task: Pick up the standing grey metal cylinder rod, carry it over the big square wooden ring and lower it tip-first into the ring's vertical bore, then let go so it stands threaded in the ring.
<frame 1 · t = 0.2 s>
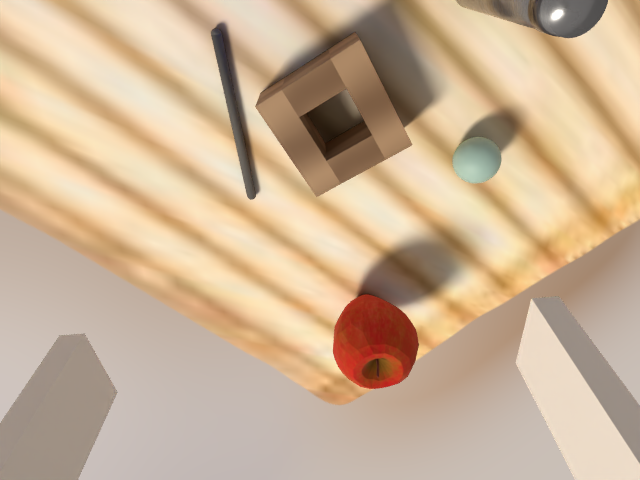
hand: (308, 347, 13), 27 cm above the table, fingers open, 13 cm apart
loose teal bead: (469, 151, 38), on the table
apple: (367, 299, 48), on the table
thin dark grey rod: (236, 121, 37), on the table
square wooden ring: (333, 111, 36), on the table
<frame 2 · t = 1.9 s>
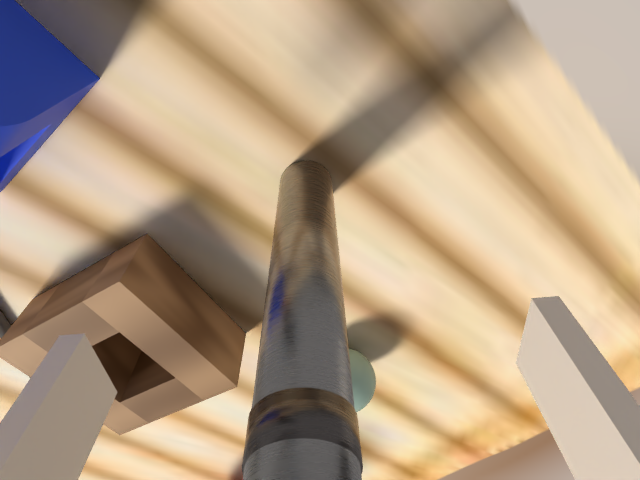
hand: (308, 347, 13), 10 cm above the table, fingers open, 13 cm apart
loose teal bead: (342, 355, 28), on the table
grey metal cylinder rod: (306, 184, 21), on the table
thin dark grey rod: (10, 328, 26), on the table
square wooden ring: (143, 317, 26), on the table
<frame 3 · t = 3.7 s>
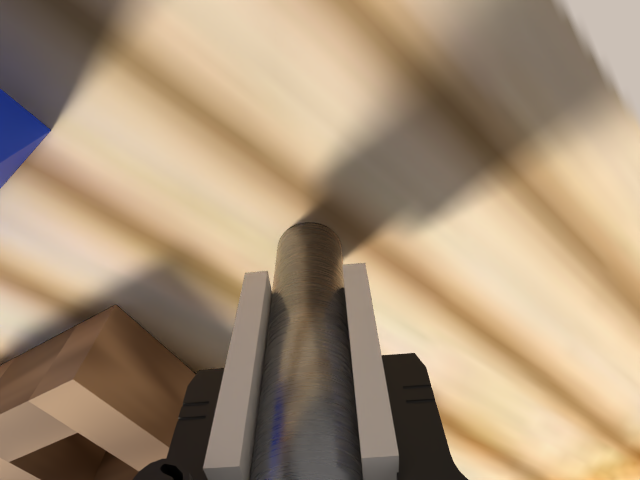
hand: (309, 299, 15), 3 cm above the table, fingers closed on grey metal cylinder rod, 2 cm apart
grey metal cylinder rod: (309, 250, 17), on the table, touching gripper
square wooden ring: (116, 393, 22), on the table
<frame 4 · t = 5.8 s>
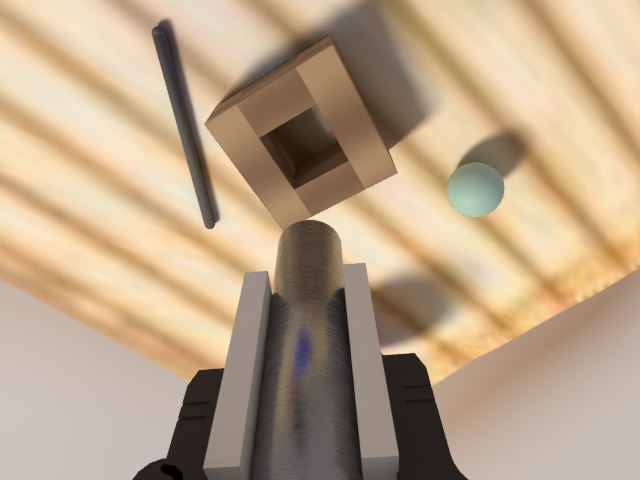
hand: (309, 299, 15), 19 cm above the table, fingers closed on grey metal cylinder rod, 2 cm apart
loose teal bead: (466, 178, 33), on the table
grey metal cylinder rod: (309, 247, 17), point 15 cm above the table, touching gripper
thin dark grey rod: (188, 139, 31), on the table
square wooden ring: (305, 128, 30), on the table
when the fingers open (5 cm above the table, at t = 8.0 s): grey metal cylinder rod stays where it is, resting in square wooden ring.
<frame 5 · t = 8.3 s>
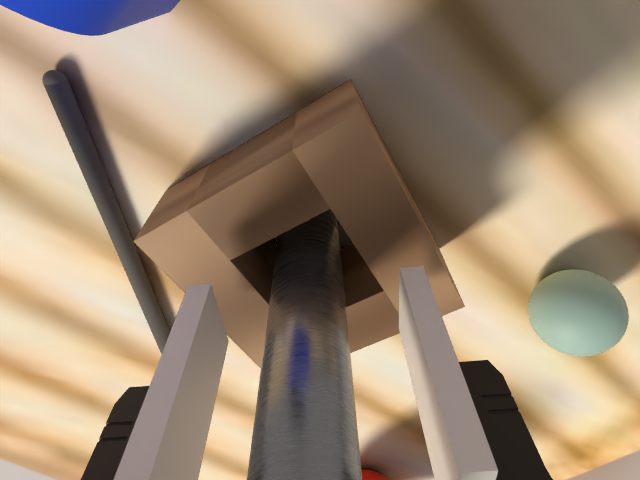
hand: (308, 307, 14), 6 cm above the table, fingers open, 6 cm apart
loose teal bead: (555, 284, 21), on the table
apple: (367, 470, 31), on the table
grey metal cylinder rod: (308, 221, 19), resting in square wooden ring
thin dark grey rod: (126, 237, 19), on the table
square wooden ring: (309, 221, 19), on the table
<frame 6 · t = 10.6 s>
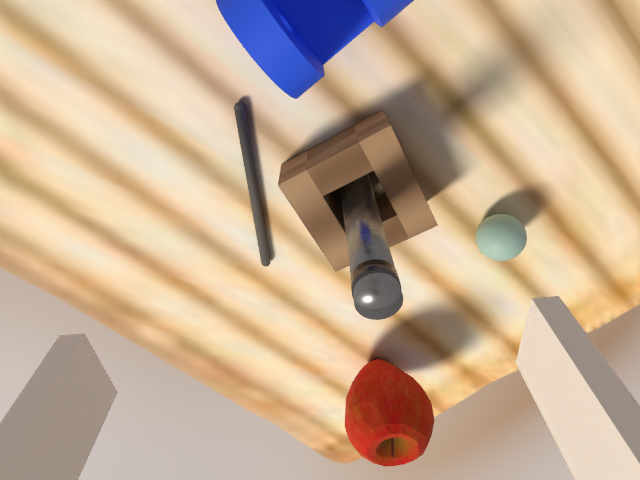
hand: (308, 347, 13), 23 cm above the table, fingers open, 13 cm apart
loose teal bead: (492, 225, 37), on the table
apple: (378, 362, 47), on the table
grey metal cylinder rod: (355, 184, 35), resting in square wooden ring
thin dark grey rod: (254, 191, 35), on the table
square wooden ring: (355, 183, 35), on the table
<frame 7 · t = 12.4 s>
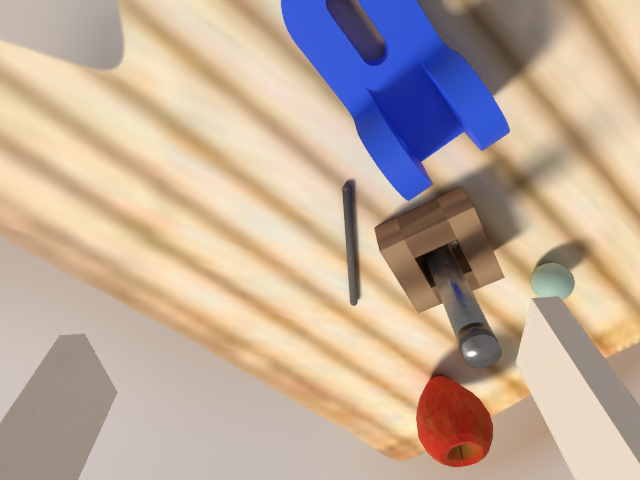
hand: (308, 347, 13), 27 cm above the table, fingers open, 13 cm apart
bracket: (376, 53, 33), on the table
loose teal bead: (543, 270, 45), on the table
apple: (439, 378, 55), on the table
grey metal cylinder rod: (433, 241, 43), resting in square wooden ring
thin dark grey rod: (350, 248, 43), on the table
square wooden ring: (433, 241, 43), on the table
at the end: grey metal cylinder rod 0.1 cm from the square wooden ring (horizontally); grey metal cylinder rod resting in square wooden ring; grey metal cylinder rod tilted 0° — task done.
